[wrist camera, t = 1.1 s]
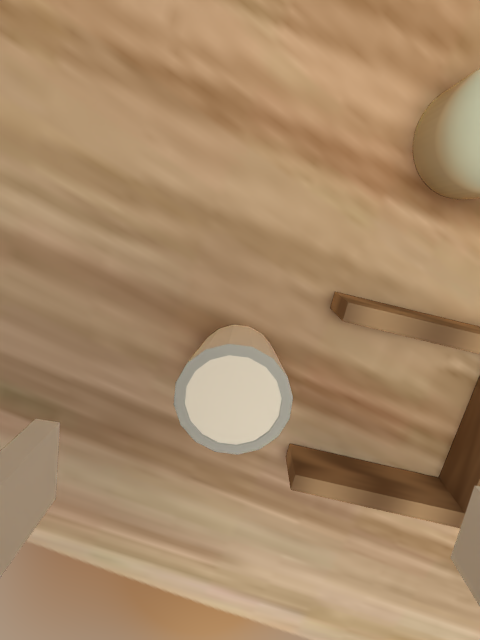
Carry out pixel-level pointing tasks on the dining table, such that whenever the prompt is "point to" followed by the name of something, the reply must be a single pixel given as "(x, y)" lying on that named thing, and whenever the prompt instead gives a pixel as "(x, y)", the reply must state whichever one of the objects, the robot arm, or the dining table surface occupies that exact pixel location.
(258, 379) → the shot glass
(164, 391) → the dining table surface
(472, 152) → the cream rounded cylinder
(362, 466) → the bay
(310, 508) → the dining table surface
